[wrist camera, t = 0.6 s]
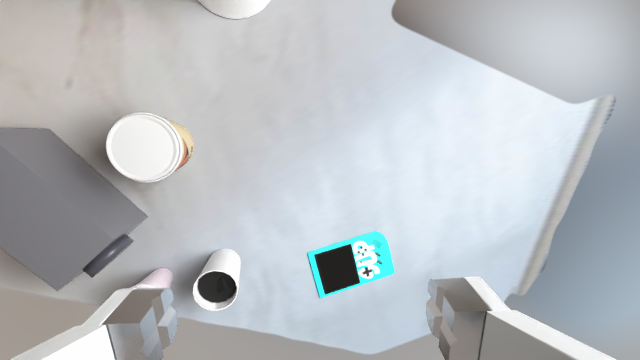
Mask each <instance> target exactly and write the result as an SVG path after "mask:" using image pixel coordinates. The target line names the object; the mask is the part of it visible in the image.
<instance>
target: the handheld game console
mask: <svg viewBox="0 0 640 360" xmlns="http://www.w3.org/2000/svg"><path fill="white" fill-rule="evenodd" d="M308 257H309V260H310V265H311V268H312V271H313V274H314V278H315V282H316V285H317V289H318V292H319V296H320V297H321V298H323V297H326V296H329V295H332V294H335V293H338V292H341V291H344V290H347V289H350V288H353V287H356V286H359V285H362V284H365V283H368V282H371V281H374V280H377V279H380V278H383V277H386V276H389V275H392V274H394V267H393V263H392V259H391V254H390V250H389V246H388V243H387V240H386V239H385V237H384V236H383V235H382V234H381V233H380V232H377V231H375V232H371V233H368V234H365V235H361V236H358V237H355V238H352V239H349V240H345V241H342V242H339V243H336V244H333V245H329V246H326V247H323V248H320V249H317V250H313V251H310V252H309V253H308Z"/></svg>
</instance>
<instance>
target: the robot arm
mask: <svg viewBox="0 0 640 360" xmlns="http://www.w3.org/2000/svg"><path fill="white" fill-rule="evenodd" d="M198 1H199V2H200V3H201V4H202V5H203V6H204V7H205V8H207V9H208V10H210V11H211V12H213V13H215V14H217V15H219V16H222V17H225V18H231V19H242V18H247V17H250V16H253V15H255V14H257V13H258V12H260V11H261V10H262V9H263V8H265V7H266V5H267V4H268V3H269V2H270V0H198ZM428 292H429V294H430V295H431V298H430V299H429V300H428V302H427V305H426V315H427V322H428V325H429V328H430V330H431V332H432V334H433V335H434V336H435V337H437V338H438V339H439V348H440V351H441V352H442V354H443V356H444V359H445V360H616V359H614V358H612V357H610V356H608V355H606V354H604V353H602V352H599V351H598V350H595V349H593V348H591V347H589V346H587V345H585V344H583V343H581V342H579V341H577V340H575V339H573V338H571V337H569V336H567V335H565V334H563V333H561V332H559V331H557V330H555V329H553V328H551V327H549V326H547V325H545V324H543V323H541V322H539V321H537V320H535V319H532V318H530V317H528V316H526V315H524V314H522V313H520V312H518V311H516V310H514V311H513V310H510V309H509V308H508V307H507V306H506V305H505V304H504V303H503V301H502V300H501V299H500V298H499V297H498V296H497V295H496V294H495V293H494V292H493V290H492V289H491V288H490V287H489V286H488V285H487V284H486V283H485V282H484V281H483V279H482V278H480V277H478V276H474V277H462V278H445V279H430V281H429V283H428ZM173 300H174V296H173V292H172V290H171V289H170V288H122V289H119V290H116V291H115V292H114V293H113V294H112V295H111V296H110V297H109V298H108V299H107V300H106V301H105V302H104V303H103V304H102V305H101V306H100V307H99V308H98V309H97V310H96V311H95V312H94V313H93V314H92V315H91V316H90V317H89V319H87V320H86V321H85V322H84V323H83V324H82V325H81V326H75V327H73V328H71V329H69V330H67V331H65V332H63V333H61V334H59V335H57V336H55V337H53V338H51V339H49V340H47V341H45V342H43V343H41V344H39V345H37V346H35V347H34V348H32V349H30V350H28V351H26V352H24V353H22V354H20V355H18V356H16V357H14V358H12V359H10V360H162V358H163V352H162V350H163V349H165V348H166V347H167V346H169V345H170V344H171V342H172V340H173V339H174V336H175V333H176V330H177V322H178V321H177V320H178V318H177V312H176V310H175V309H174V308H172V307H171V306H170V305H171V303H172V302H173Z"/></svg>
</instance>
